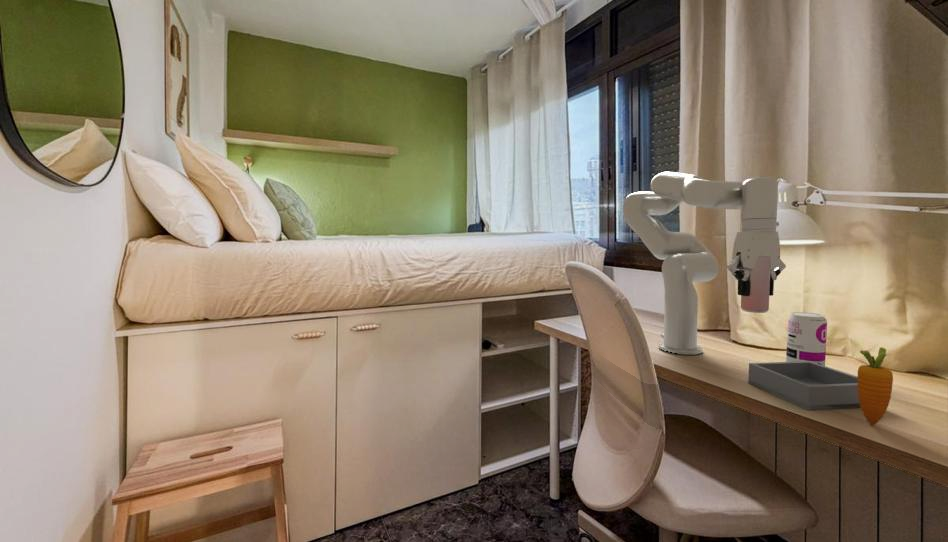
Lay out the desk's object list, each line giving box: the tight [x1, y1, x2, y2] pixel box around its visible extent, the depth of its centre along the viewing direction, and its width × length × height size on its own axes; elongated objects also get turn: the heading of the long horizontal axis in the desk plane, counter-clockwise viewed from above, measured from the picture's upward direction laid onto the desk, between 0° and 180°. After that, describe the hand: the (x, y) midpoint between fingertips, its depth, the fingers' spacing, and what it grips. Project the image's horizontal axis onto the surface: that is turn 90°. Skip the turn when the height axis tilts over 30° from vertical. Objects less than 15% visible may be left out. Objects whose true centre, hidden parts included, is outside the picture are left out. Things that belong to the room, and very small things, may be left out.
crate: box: [747, 361, 861, 411], centre depth 88 cm, size 16×16×5 cm
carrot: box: [857, 346, 894, 426], centre depth 73 cm, size 5×5×15 cm
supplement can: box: [785, 311, 828, 366], centre depth 106 cm, size 8×8×15 cm
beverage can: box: [740, 255, 771, 314], centre depth 100 cm, size 6×6×15 cm
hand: (755, 294), depth 101 cm, fingers closed on beverage can, 5 cm apart
